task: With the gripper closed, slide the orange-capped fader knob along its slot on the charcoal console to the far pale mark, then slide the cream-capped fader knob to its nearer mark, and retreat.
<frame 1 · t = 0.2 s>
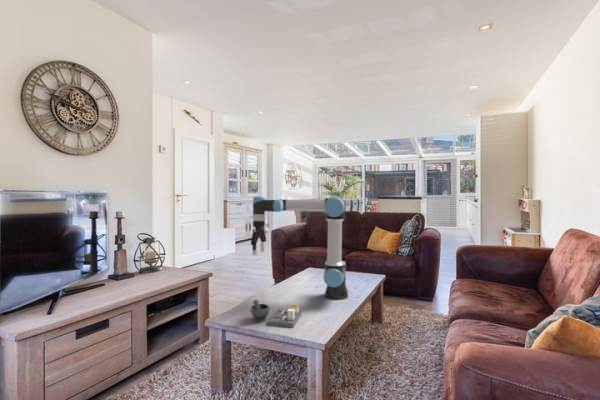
hand: (258, 253, 205), 28 cm above the table, fingers open, 13 cm apart
mortar and pestle: (259, 320, 166), on the table
fader b: (291, 314, 163), point 5 cm above the table, slide at 0.0 cm
console: (285, 319, 168), on the table
fader a: (295, 308, 172), point 5 cm above the table, slide at 0.0 cm
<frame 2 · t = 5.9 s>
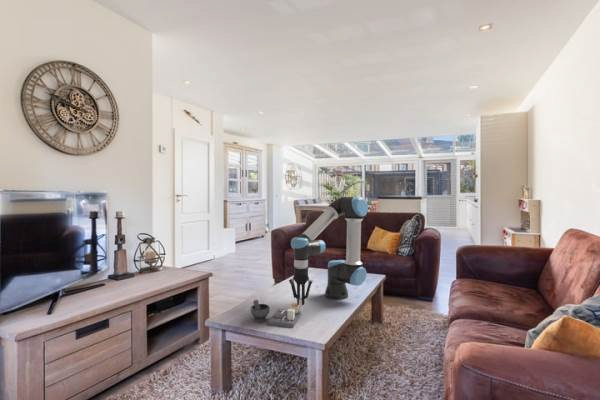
hand: (300, 310, 171), 3 cm above the table, fingers closed
fader a: (294, 308, 172), point 5 cm above the table, slide at 0.3 cm, touching gripper
everything else where it was.
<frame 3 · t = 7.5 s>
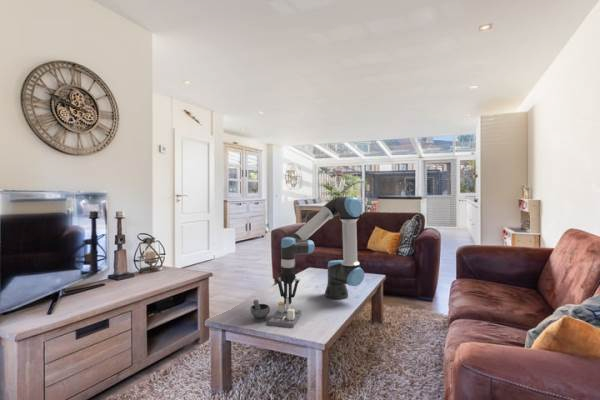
hand: (287, 309, 172), 3 cm above the table, fingers closed
fader a: (281, 307, 173), point 5 cm above the table, slide at 7.5 cm, touching gripper
everything else where it was.
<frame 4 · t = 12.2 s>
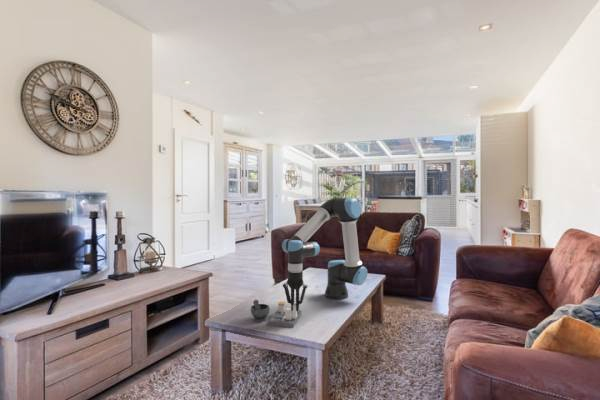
hand: (295, 316, 162), 3 cm above the table, fingers closed
fader b: (288, 314, 163), point 5 cm above the table, slide at 1.2 cm, touching gripper
fader a: (281, 307, 173), point 5 cm above the table, slide at 7.6 cm
everything else where it was.
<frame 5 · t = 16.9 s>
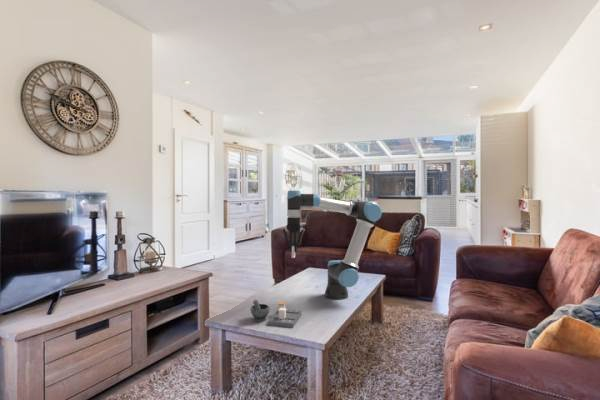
hand: (293, 257, 185), 29 cm above the table, fingers closed
fader b: (282, 313, 164), point 5 cm above the table, slide at 4.6 cm
everything else where it was.
at the end: fader a slide at 7.6 cm; fader b slide at 4.6 cm; mortar and pestle moved 0.2 cm from its start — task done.
